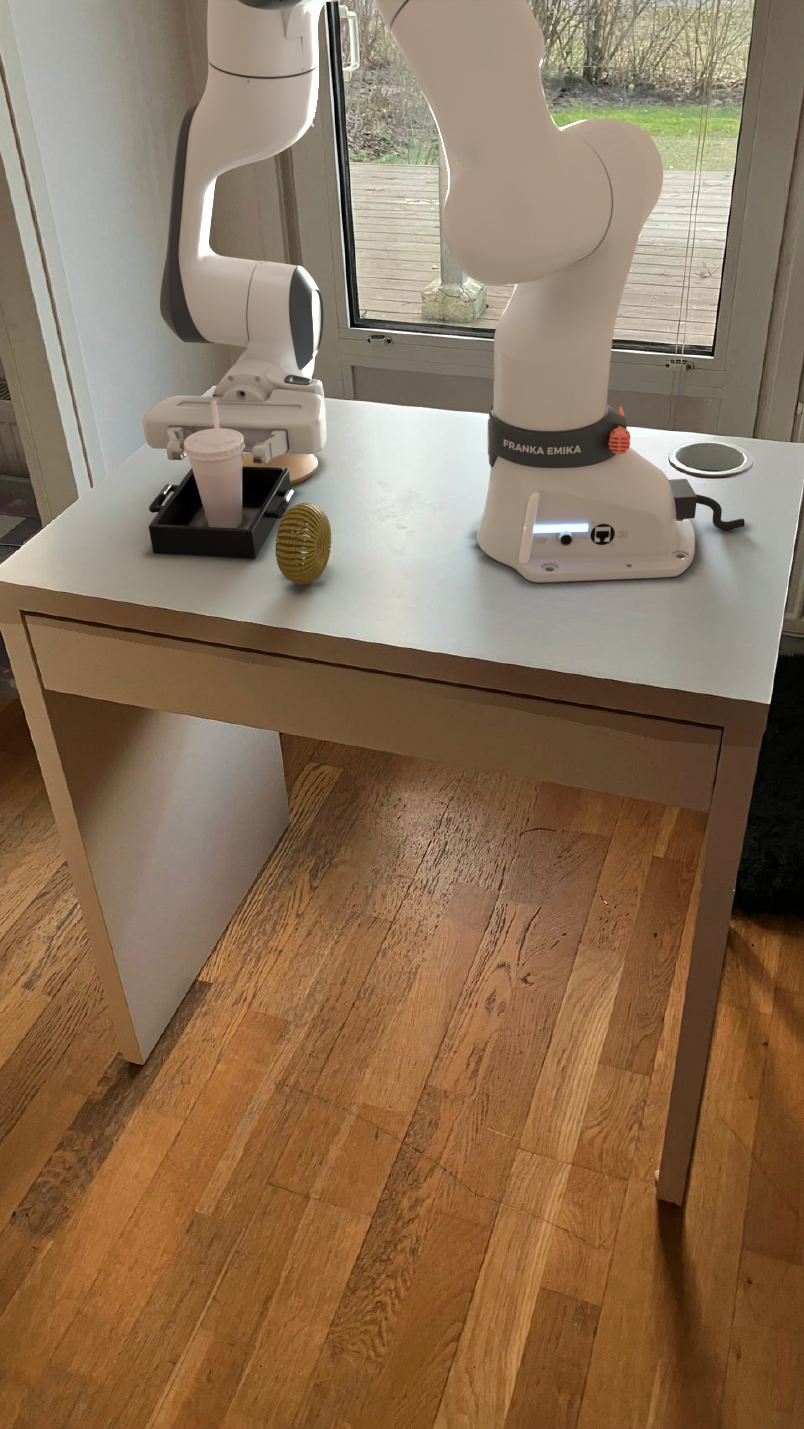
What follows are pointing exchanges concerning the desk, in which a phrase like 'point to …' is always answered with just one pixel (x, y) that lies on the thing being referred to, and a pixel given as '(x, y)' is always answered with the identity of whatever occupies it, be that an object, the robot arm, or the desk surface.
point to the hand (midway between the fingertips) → (216, 455)
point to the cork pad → (288, 465)
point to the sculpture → (303, 543)
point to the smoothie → (218, 471)
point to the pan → (180, 538)
